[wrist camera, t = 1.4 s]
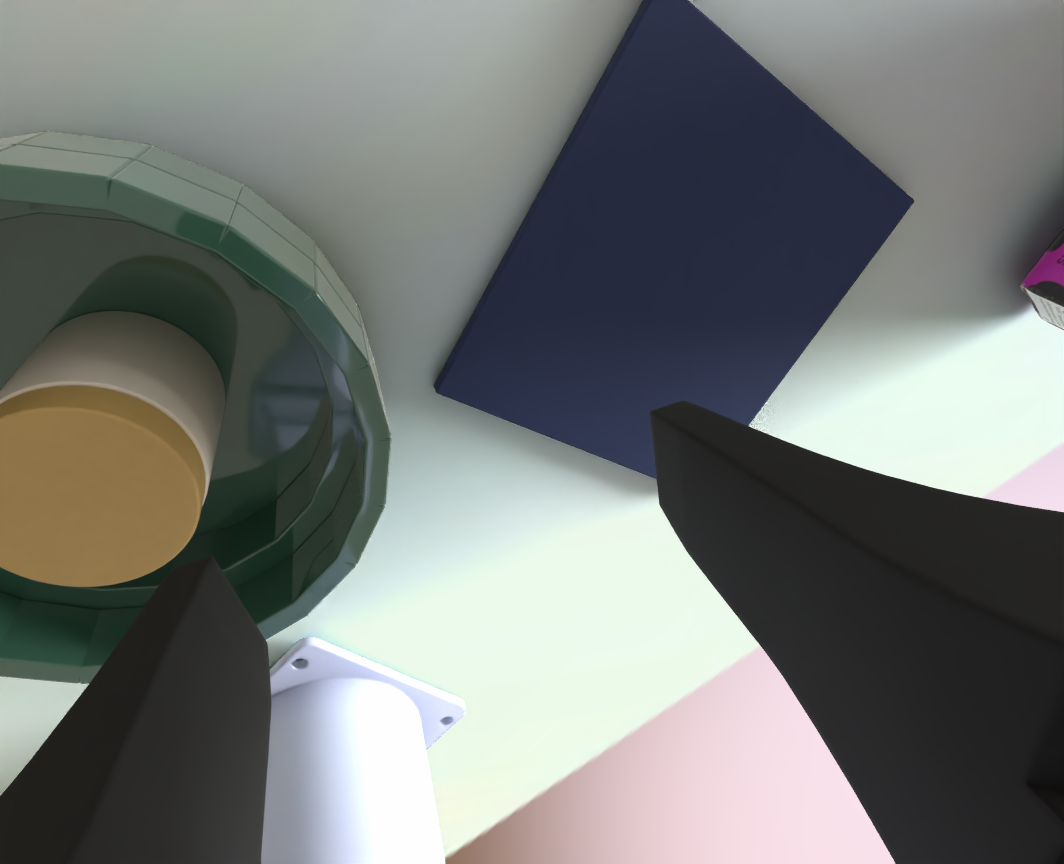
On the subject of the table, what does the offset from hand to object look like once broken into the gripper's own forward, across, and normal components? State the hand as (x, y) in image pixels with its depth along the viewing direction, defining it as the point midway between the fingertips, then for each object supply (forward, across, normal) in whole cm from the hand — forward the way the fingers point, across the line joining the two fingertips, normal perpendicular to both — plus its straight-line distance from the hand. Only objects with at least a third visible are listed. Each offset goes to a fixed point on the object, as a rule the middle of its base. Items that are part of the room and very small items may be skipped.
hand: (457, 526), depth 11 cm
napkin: (+10, -9, +2) cm, 13 cm away
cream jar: (+9, +7, 0) cm, 11 cm away
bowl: (+10, +7, 0) cm, 12 cm away
